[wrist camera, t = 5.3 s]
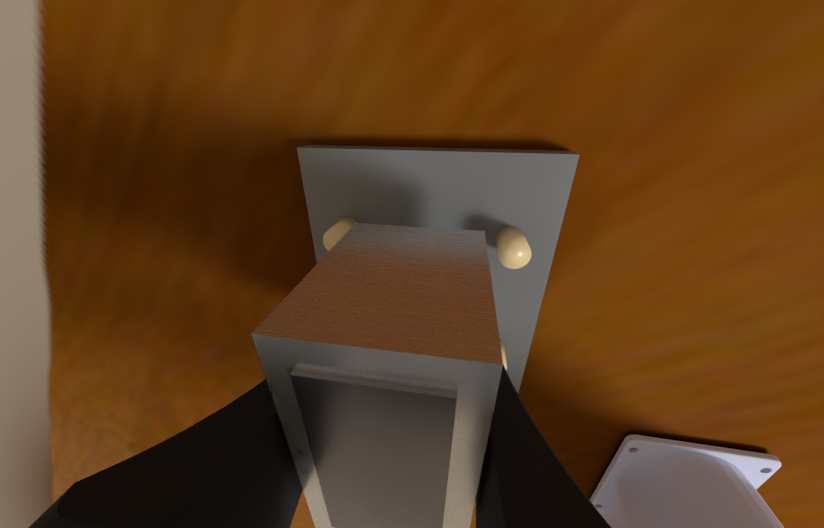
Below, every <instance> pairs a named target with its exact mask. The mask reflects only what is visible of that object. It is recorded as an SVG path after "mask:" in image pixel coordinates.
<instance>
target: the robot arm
mask: <svg viewBox="0 0 824 528" xmlns="http://www.w3.org/2000/svg"><path fill="white" fill-rule="evenodd" d="M781 465H782V464H781V462H780V461H779V459H778V458H777V457H776V456H774V455H771V454H765V453H758V452H752V451H745V450H738V449H731V448H724V447H718V446H711V445H704V444H697V443H690V442H683V441H677V440H670V439H663V438H656V437H649V436H643V435H636V434H632V435H628V436H626V437H625V439H624V440H623V442H622V444H621V446H620V447H619V449H618V451H617V453H616V454H615V456H614V458H613V460H612V461H611V463H610V465H609V467H608V468H607V470H606V472H605V474H604V475H603V477H602V479H601V481H600V482H599V484H598V486H597V488H596V489H595V491H594V493H593V495H592V496H591V498H590V500H589V499H588V498H587V496H586V495H585V494H584V493H583V491H582V490H581V489H580V488H579V486H578V485H577V484H576V483H575V481H574V480H573V479H572V477H571V476H570V474H569V473H568V472H567V470H566V469H565V468H564V466H563V465H562V463H561V462H560V461H559V459H558V458H557V456H556V455H555V453H554V452H553V451H552V449H551V448H550V446H549V445H548V443H547V442H546V440H545V439H544V437H543V436H542V434H541V432H540V431H539V429H538V428H537V426H536V424H535V423H534V421H533V419H532V418H531V416H530V414H529V413H528V411H527V409H526V408H525V406H524V404H523V402H522V401H521V399H520V397H519V395H518V393H517V391H516V389H515V387H514V385H513V384H512V382H511V380H510V378H509V375H508V373H507V371H506V369H505V367H504V365H503V368H502V373H501V378H500V383H499V387H498V392H497V397H496V402H495V407H494V412H493V417H492V421H491V426H490V431H489V436H488V441H487V446H486V450H485V455H484V460H483V465H482V470H481V475H480V480H479V484H478V489H477V494H476V528H784V526H783V525H782V524H781V522H780V521H779V520H778V518H777V517H776V516H775V514H774V513H773V512H772V510H771V509H770V508H769V506H768V505H767V504H766V502H765V501H764V500H763V498H762V497H761V496H760V494H759V493H758V492H757V490H756V489H757V488H759V487H760V486H761V485H762V484H763V483H764V482H765V481H766V480H767V479H768V478H769V477H770V476H771V475H773V474H774V473H775V472H776V471H777V470H778V469H779V468H780V467H781ZM302 490H303V488H302V485H301V482H300V479H299V476H298V473H297V470H296V467H295V464H294V461H293V458H292V455H291V452H290V449H289V446H288V443H287V440H286V437H285V434H284V431H283V428H282V425H281V422H280V419H279V416H278V413H277V410H276V407H275V404H274V401H273V398H272V395H271V392H270V389H269V386H268V383H267V379H265V380H264V381H262V382H261V383H260V384H258V385H257V386H255V387H254V388H253V389H251V390H250V391H248V392H247V393H245V394H244V395H242V396H241V397H239V398H238V399H236V400H235V401H233V402H231V403H230V404H228V405H227V406H225V407H224V408H222V409H220V410H219V411H217V412H215V413H213V414H212V415H210V416H208V417H207V418H205V419H203V420H201V421H200V422H198V423H196V424H195V425H193V426H191V427H189V428H188V429H186V430H184V431H182V432H180V433H178V434H177V435H175V436H173V437H171V438H169V439H167V440H165V441H163V442H161V443H159V444H157V445H155V446H153V447H151V448H149V449H147V450H145V451H143V452H141V453H139V454H137V455H135V456H133V457H131V458H129V459H127V460H124V461H122V462H120V463H118V464H116V465H113V466H111V467H109V468H107V469H105V470H102V471H100V472H98V473H96V474H94V475H91V476H89V477H87V478H85V479H82V480H80V481H78V482H75V483H74V484H73V485H72V486H71V487H70V488H69V489H68V490H67V491H66V492H65V493H64V494H63V495H62V496H61V497H60V498H59V499H58V500H57V501H56V502H55V503H54V504H53V505H51V506H50V507H49V508H48V509H47V510H46V511H45V512H44V513H43V514H42V515H41V516H40V517H39V518H38V519H37V520H36V521H35V522H34V523H33V524H32V525H31V526H30V527H29V528H290V525H291V522H292V519H293V516H294V513H295V510H296V507H297V504H298V501H299V498H300V496H301V493H302Z"/></svg>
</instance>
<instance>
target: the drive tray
mask: <svg viewBox="0 0 824 528" xmlns="http://www.w3.org/2000/svg"><path fill="white" fill-rule="evenodd" d="M297 152H298V158H299V164H300V170H301V175H302V181H303V187H304V193H305V198H306V204H307V210H308V216H309V222H310V227H311V233H312V239H313V245H314V250H315V256H316V262H317V263H318V262H319V261H320V260H321V259H322V258H323V257H324V256H325V255H326V254H327V253H328V252H329V251H330V250H331V249H332V248H333V246H334V245H335V244H336V243H337V242H338V241H339V240H340V239H341V238H342V237H343V236H344V235H345V234H346V233H347V232H348V231H349V230H350V228H351V227H352V226H353V225H354V224H355V223H364V224H380V225H396V226H412V227H428V228H445V229H461V230H477V231H485V237H486V244H487V251H488V258H489V266H490V273H491V280H492V287H493V295H494V302H495V309H496V316H497V324H498V331H499V338H500V345H501V353H502V360H503V365H504V367H505V369H506V371H507V373H508V375H509V378H510V380H511V382H512V384H513V385H514V387H515V389H516V391H517V393H519V389H520V385H521V382H522V378H523V374H524V370H525V366H526V362H527V358H528V354H529V350H530V346H531V342H532V339H533V335H534V331H535V327H536V323H537V319H538V315H539V311H540V307H541V303H542V299H543V296H544V292H545V288H546V284H547V280H548V276H549V272H550V268H551V264H552V260H553V256H554V253H555V249H556V245H557V241H558V237H559V233H560V229H561V225H562V221H563V217H564V213H565V210H566V206H567V202H568V198H569V194H570V190H571V186H572V182H573V178H574V174H575V170H576V167H577V163H578V159H579V155H580V154H578V153H575V152H573V151H567V150H522V149H477V148H431V147H386V146H341V145H305V146H301V147H297Z"/></svg>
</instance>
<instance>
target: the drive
mask: <svg viewBox="0 0 824 528" xmlns="http://www.w3.org/2000/svg"><path fill="white" fill-rule="evenodd" d="M252 337H253V340H254V343H255V346H256V349H257V352H258V355H259V358H260V361H261V364H262V367H263V370H264V373H265V376H266V379H267V383H268V386H269V389H270V392H271V395H272V398H273V401H274V404H275V407H276V410H277V413H278V416H279V419H280V422H281V425H282V428H283V431H284V434H285V437H286V440H287V443H288V446H289V449H290V452H291V455H292V458H293V461H294V464H295V467H296V470H297V473H298V476H299V479H300V482H301V485H302V488H303V491H304V494H305V497H306V500H307V503H308V507H309V510H310V513H311V516H312V519H313V522H314V525H315V528H470V523H471V518H472V514H473V509H474V504H475V499H476V494H477V489H478V484H479V480H480V475H481V470H482V465H483V460H484V455H485V450H486V446H487V441H488V436H489V431H490V426H491V421H492V417H493V412H494V407H495V402H496V397H497V392H498V387H499V383H500V378H501V373H502V368H503V360H502V353H501V345H500V338H499V331H498V324H497V316H496V309H495V302H494V295H493V287H492V280H491V273H490V266H489V258H488V251H487V244H486V237H485V231H477V230H461V229H445V228H428V227H412V226H396V225H380V224H364V223H355V224H354V225H353V226H352V227H351V228H350V230H349V231H348V232H347V233H346V234H345V235H344V236H343V237H342V238H341V239H340V240H339V241H338V242H337V243H336V244H335V245H334V246H333V248H332V249H331V250H330V251H329V252H328V253H327V254H326V255H325V256H324V257H323V258H322V259H321V260H320V261H319V262H318V263H317V265H316V266H315V267H314V268H313V269H312V270H311V271H310V272H309V273H308V274H307V275H306V276H305V277H304V278H303V279H302V280H301V282H300V283H299V284H298V285H297V286H296V287H295V288H294V289H293V290H292V291H291V292H290V293H289V294H288V295H287V296H286V297H285V299H284V300H283V301H282V302H281V303H280V304H279V305H278V306H277V307H276V308H275V309H274V310H273V311H272V312H271V313H270V314H269V316H268V317H267V318H266V319H265V320H264V321H263V322H262V323H261V324H260V325H259V326H258V327H257V328H256V329H255V330H254V331H253V332H252Z"/></svg>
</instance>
